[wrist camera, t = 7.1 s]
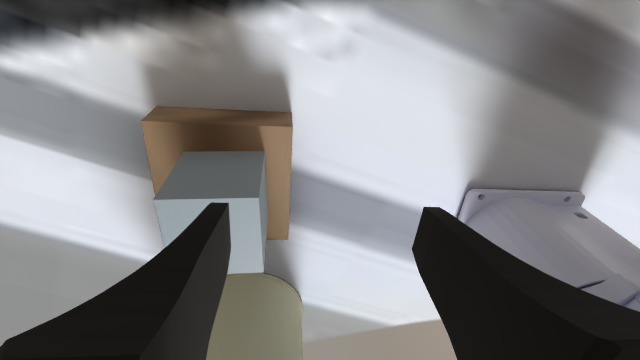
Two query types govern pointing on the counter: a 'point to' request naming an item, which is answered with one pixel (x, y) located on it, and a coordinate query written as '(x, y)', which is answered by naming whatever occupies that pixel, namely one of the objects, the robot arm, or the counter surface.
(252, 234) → the block
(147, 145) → the slab
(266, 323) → the can
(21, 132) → the counter surface
